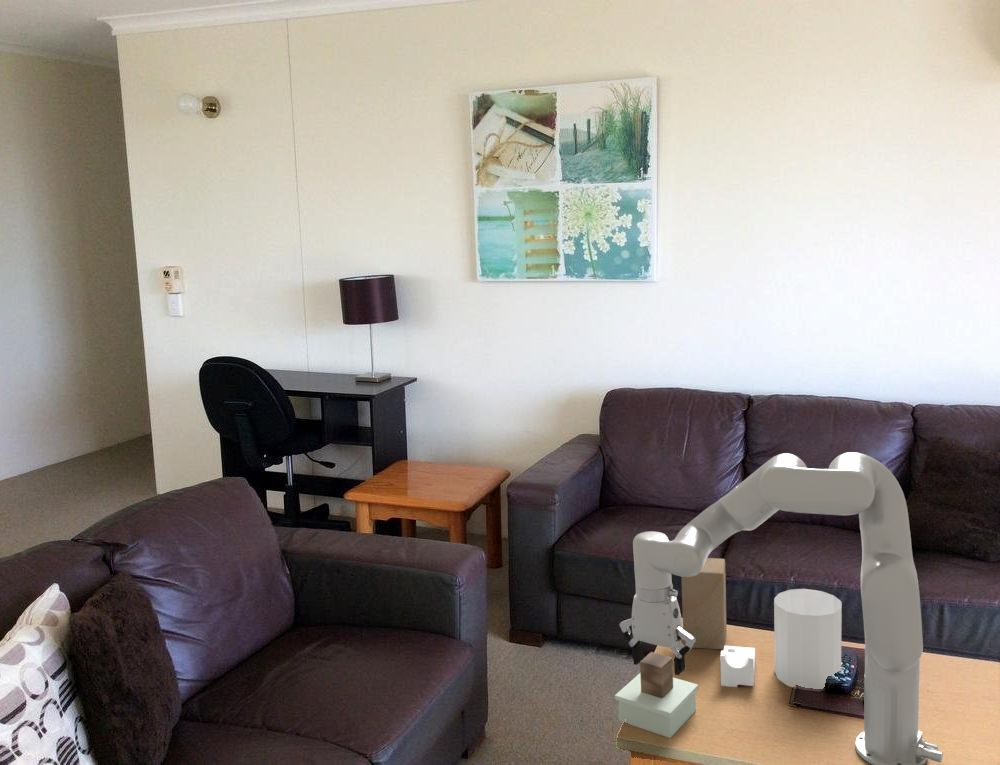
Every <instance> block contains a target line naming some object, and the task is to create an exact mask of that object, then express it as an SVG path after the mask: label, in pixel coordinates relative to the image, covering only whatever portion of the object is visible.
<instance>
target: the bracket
mask: <svg viewBox="0 0 1000 765" xmlns="http://www.w3.org/2000/svg"><path fill="white" fill-rule="evenodd" d="M719 658H720V685H721V687H732V688H738V686H739V685H740V686H750V687H755V685H754V683H755V666H756V647H749V646H748V647H747V646H746V647H745V646H733V645H726V644H725V645H724V650H720V657H719Z"/></svg>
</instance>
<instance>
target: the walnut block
mask: <svg viewBox="0 0 1000 765" xmlns="http://www.w3.org/2000/svg"><path fill="white" fill-rule="evenodd" d="M673 668H674V664H673V657H671V656H667V655H663V654H660V653H657V652H654V651H650V652H649V653H648V654H647V655H646V656H645V657H643V659H642V660H641V661H640V663H639V669H640V670H639V671H640V672H639V673H640V675H641V692H643V693H646V694H649V695H652V696H655V697H659V698H664V697H665V696H666V695H667V694H668V693H669V692H670V691H671V690H672V689H673V678H674V676H673V675H674V670H673Z"/></svg>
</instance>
